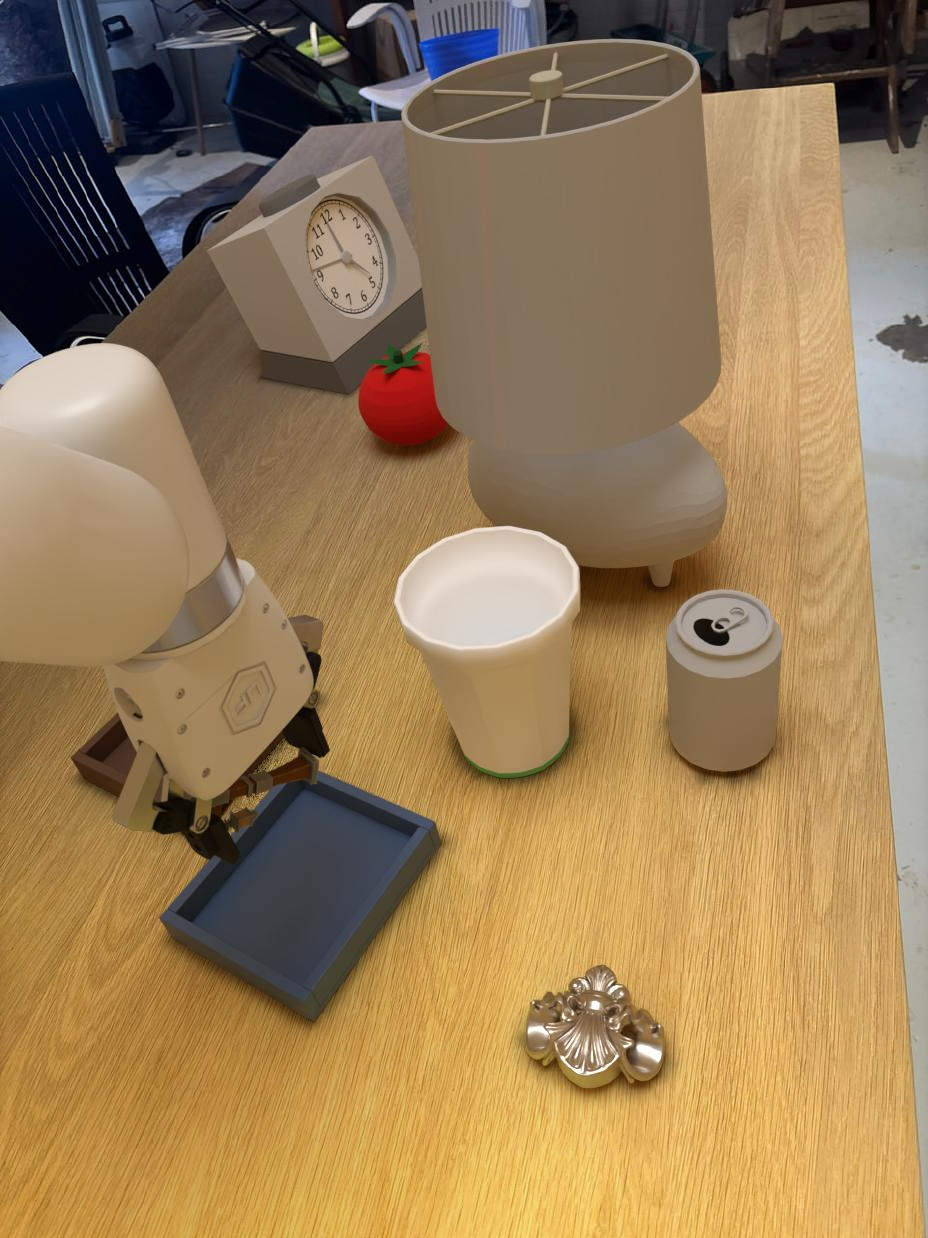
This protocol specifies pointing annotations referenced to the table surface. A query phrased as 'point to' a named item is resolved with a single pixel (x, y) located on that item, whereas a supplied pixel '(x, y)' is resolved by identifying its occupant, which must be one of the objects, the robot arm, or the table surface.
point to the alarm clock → (325, 278)
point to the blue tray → (304, 889)
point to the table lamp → (574, 292)
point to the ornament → (595, 1032)
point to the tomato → (401, 398)
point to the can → (723, 679)
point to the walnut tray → (125, 758)
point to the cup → (497, 641)
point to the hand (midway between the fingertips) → (265, 797)
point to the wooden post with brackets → (263, 787)
